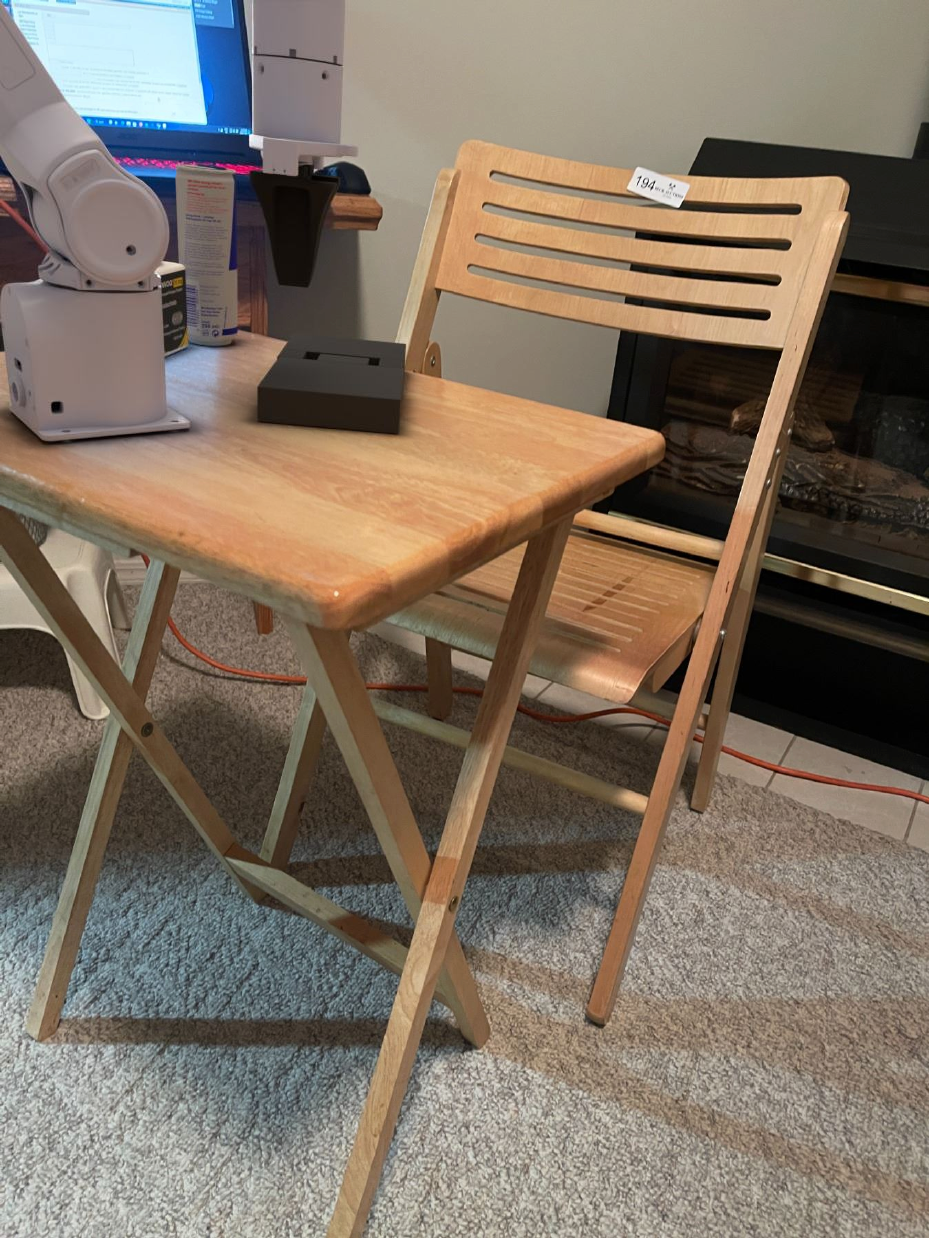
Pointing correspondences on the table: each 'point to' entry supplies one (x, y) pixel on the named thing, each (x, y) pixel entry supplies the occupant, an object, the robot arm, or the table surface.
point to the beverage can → (208, 251)
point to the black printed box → (173, 306)
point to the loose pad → (332, 394)
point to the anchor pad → (345, 349)
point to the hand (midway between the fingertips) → (294, 285)
